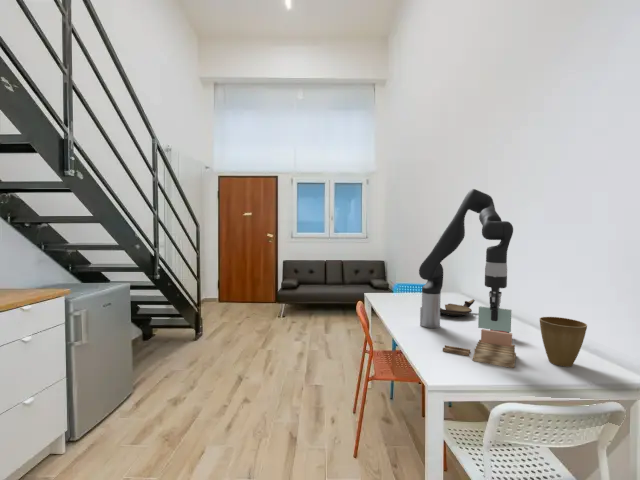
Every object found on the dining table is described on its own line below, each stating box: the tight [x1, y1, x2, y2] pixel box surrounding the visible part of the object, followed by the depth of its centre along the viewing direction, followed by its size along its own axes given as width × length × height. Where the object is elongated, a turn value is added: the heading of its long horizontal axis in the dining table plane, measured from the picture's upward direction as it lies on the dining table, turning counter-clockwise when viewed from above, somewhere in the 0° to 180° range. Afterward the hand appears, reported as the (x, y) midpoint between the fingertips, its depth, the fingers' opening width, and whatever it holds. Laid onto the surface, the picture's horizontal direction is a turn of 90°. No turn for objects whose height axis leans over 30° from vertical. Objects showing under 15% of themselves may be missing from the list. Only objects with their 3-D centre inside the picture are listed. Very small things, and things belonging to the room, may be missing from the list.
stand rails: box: [442, 344, 471, 357], centre depth 147 cm, size 10×4×1 cm, turn 59°
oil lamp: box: [440, 299, 476, 317], centre depth 211 cm, size 22×30×8 cm
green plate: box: [477, 305, 512, 333], centre depth 136 cm, size 11×2×8 cm, turn 59°
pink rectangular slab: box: [480, 328, 513, 347], centre depth 145 cm, size 11×2×8 cm, turn 59°
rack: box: [472, 339, 517, 369], centre depth 141 cm, size 14×15×4 cm
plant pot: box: [539, 316, 588, 368], centre depth 136 cm, size 15×15×16 cm
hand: (494, 319), depth 136 cm, fingers closed on green plate, 1 cm apart
